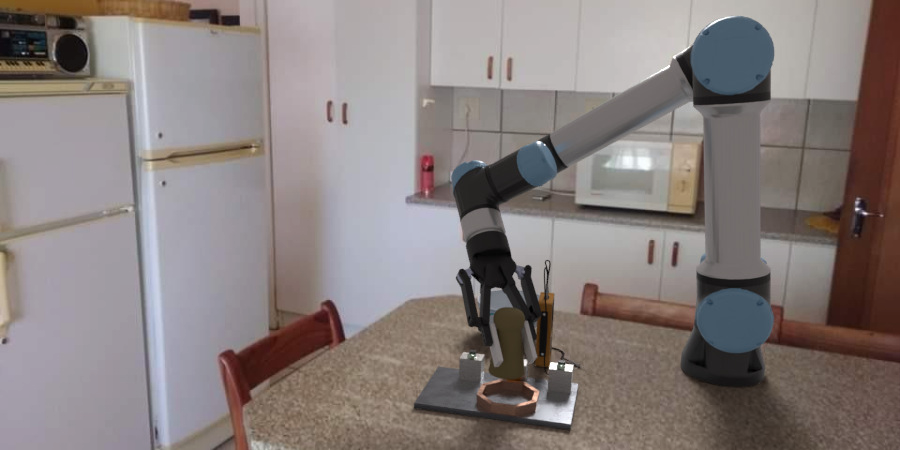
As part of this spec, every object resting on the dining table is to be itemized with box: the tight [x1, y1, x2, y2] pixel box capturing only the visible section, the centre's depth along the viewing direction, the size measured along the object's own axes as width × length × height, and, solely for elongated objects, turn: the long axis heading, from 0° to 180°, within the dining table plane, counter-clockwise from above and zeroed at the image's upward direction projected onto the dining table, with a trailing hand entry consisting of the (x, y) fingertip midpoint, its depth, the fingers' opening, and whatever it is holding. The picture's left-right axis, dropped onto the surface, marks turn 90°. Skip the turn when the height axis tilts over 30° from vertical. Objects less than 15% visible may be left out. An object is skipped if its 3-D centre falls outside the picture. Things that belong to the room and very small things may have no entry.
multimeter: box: [534, 259, 588, 375], centre depth 138 cm, size 15×10×20 cm
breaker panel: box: [413, 349, 579, 431], centre depth 124 cm, size 26×16×6 cm, turn 76°
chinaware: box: [476, 289, 540, 329], centre depth 154 cm, size 15×15×8 cm
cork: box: [488, 307, 525, 379], centre depth 120 cm, size 6×6×11 cm
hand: (515, 361), depth 117 cm, fingers closed on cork, 5 cm apart
